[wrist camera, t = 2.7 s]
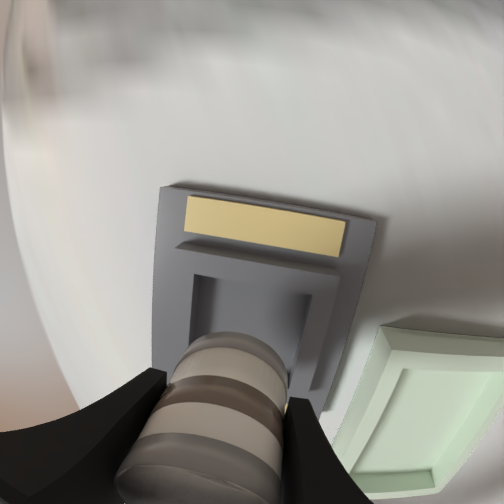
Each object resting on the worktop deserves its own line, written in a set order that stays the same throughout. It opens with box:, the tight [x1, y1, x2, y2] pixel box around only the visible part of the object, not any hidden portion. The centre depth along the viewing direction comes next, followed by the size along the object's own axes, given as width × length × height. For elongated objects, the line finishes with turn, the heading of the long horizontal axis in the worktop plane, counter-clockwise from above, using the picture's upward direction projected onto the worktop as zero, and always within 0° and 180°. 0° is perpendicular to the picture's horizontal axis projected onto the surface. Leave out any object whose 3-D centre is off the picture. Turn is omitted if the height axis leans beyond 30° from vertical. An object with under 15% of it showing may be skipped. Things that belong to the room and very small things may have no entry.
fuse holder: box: [152, 186, 377, 420], centre depth 16 cm, size 12×10×2 cm
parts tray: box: [331, 326, 504, 500], centre depth 16 cm, size 13×10×2 cm
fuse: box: [114, 331, 288, 504], centre depth 9 cm, size 4×4×6 cm
